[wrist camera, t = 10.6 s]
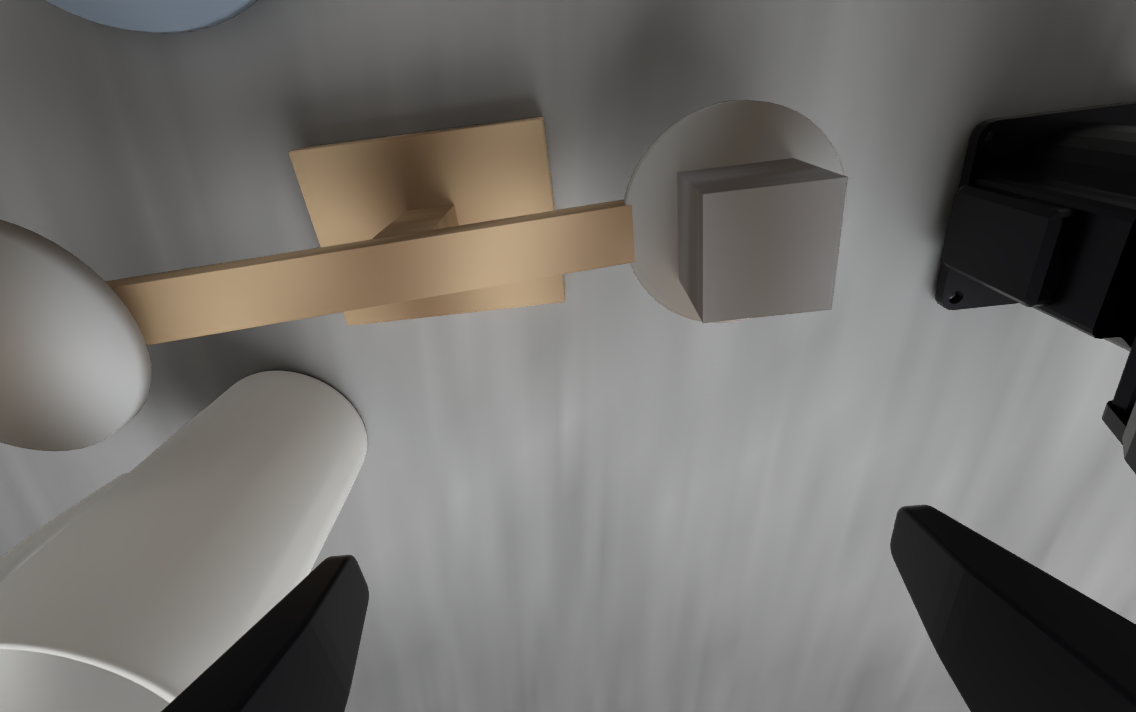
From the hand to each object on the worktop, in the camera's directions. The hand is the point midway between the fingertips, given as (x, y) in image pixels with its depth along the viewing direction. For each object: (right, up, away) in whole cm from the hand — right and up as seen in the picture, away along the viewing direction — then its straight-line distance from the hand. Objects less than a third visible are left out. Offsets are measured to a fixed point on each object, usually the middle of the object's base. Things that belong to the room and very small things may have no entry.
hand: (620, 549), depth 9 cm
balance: (-5, +8, +10) cm, 14 cm away
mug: (-14, 0, +14) cm, 20 cm away
